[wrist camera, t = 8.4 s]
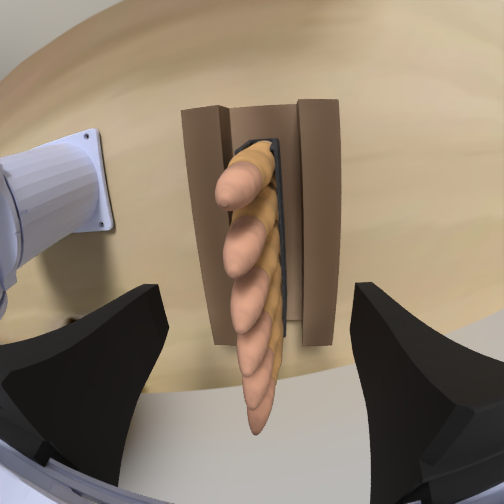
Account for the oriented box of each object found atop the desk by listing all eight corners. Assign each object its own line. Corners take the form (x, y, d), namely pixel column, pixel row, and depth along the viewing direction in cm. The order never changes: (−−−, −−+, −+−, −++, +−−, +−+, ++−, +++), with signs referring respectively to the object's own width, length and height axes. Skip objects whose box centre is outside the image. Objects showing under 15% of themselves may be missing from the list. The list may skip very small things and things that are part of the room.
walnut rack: (225, 312, 23) (214, 344, 20) (201, 113, 17) (180, 110, 14) (326, 311, 22) (331, 345, 19) (327, 105, 16) (338, 99, 13)
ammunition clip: (248, 139, 17) (177, 164, 6) (278, 137, 17) (263, 156, 6) (261, 294, 21) (234, 444, 10) (287, 294, 21) (280, 446, 10)
